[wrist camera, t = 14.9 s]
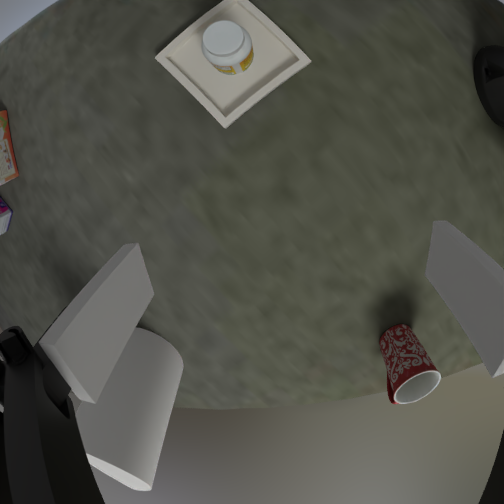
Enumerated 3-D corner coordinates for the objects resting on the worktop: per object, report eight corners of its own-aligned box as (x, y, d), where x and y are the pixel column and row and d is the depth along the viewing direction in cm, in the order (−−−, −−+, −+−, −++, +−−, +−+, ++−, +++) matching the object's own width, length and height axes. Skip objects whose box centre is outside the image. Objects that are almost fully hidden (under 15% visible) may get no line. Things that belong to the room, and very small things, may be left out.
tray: (238, -4, 26) (236, -9, 24) (309, 64, 30) (311, 61, 28) (159, 60, 30) (154, 57, 29) (226, 128, 35) (224, 128, 33)
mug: (385, 318, 47) (410, 372, 35) (422, 320, 47) (450, 369, 35) (360, 364, 53) (375, 416, 41) (395, 364, 53) (414, 412, 41)
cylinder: (154, 319, 49) (97, 451, 24) (198, 377, 56) (172, 495, 31) (94, 333, 53) (36, 436, 28) (138, 384, 60) (103, 482, 35)
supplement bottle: (220, 81, 31) (205, 69, 23) (206, 48, 29) (187, 27, 21) (260, 67, 30) (258, 49, 22) (245, 33, 28) (239, 7, 20)
